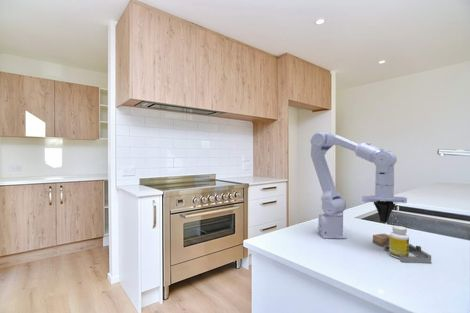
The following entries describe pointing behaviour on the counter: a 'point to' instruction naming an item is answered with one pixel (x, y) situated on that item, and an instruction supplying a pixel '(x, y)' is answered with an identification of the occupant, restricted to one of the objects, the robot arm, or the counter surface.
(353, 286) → the counter surface
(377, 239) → the tan cardboard box
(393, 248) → the supplement bottle
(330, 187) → the robot arm
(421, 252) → the steel cradle
